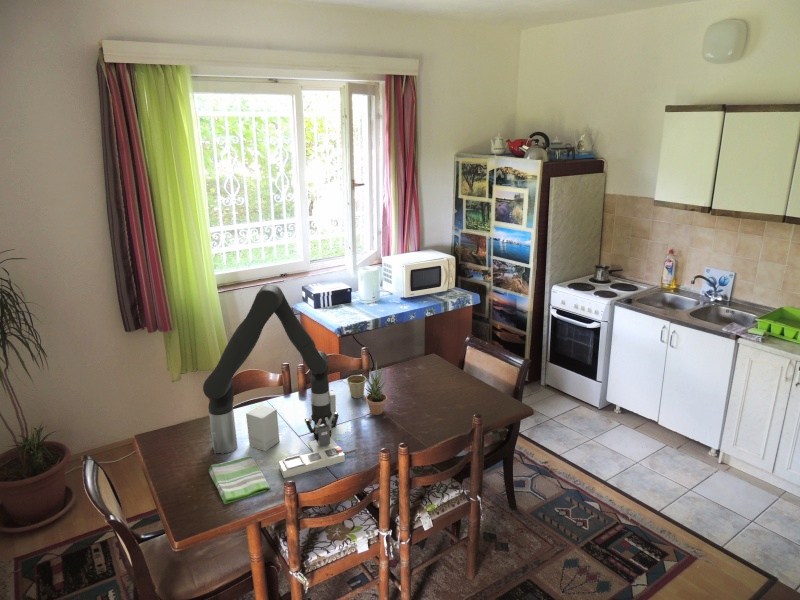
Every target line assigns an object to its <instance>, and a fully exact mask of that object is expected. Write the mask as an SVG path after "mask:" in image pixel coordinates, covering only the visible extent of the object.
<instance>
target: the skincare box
mask: <svg viewBox="0 0 800 600" xmlns="http://www.w3.org/2000/svg"><path fill="white" fill-rule="evenodd" d="M329 392H330V404H331V412H332V413H334V412H337V410H336V409H337V408H336V406H337V403H336V402H337V401H336V393H335V391H334V389H329ZM332 418H333V417H332V416H331V418H330V419H329V422H330V424H331V422H332Z"/></svg>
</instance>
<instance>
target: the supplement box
mask: <svg viewBox="0 0 800 600" xmlns="http://www.w3.org/2000/svg"><path fill="white" fill-rule="evenodd" d="M245 415H246V426H247V434H248V435H247V436H248V441H249V447H252V448H255V449H257V450H260V451H262V452H267V451H268V450H269V449H270V448H273V447H274V446H275V445H277V444H278V443H280V440H281V439H280V431H279V422H278V420H279V419H278V410H277V409H276V408H273V407H269V406H266V405H263V404H260V405H258V406H256V407H255V408H252V409H251V410H249V411H248V412H246V413H245Z"/></svg>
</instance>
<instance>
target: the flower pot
mask: <svg viewBox="0 0 800 600" xmlns="http://www.w3.org/2000/svg"><path fill="white" fill-rule="evenodd" d="M346 382H347V384H348V387H349V392H350V397H352V398H354V399H360V398H362V397H364V396H365V388H366V387H365V385H366V382H367V377H366V376H365V375H360V374H354V375H350V376H349V377H348V376H347V378H346Z"/></svg>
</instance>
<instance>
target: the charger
mask: <svg viewBox="0 0 800 600" xmlns="http://www.w3.org/2000/svg"><path fill="white" fill-rule="evenodd" d="M316 442H317V443H318V445H319V447H321V446H325V445H329V444H330V429H329V426H327V424H322V425H320V428H318V441H316Z"/></svg>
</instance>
